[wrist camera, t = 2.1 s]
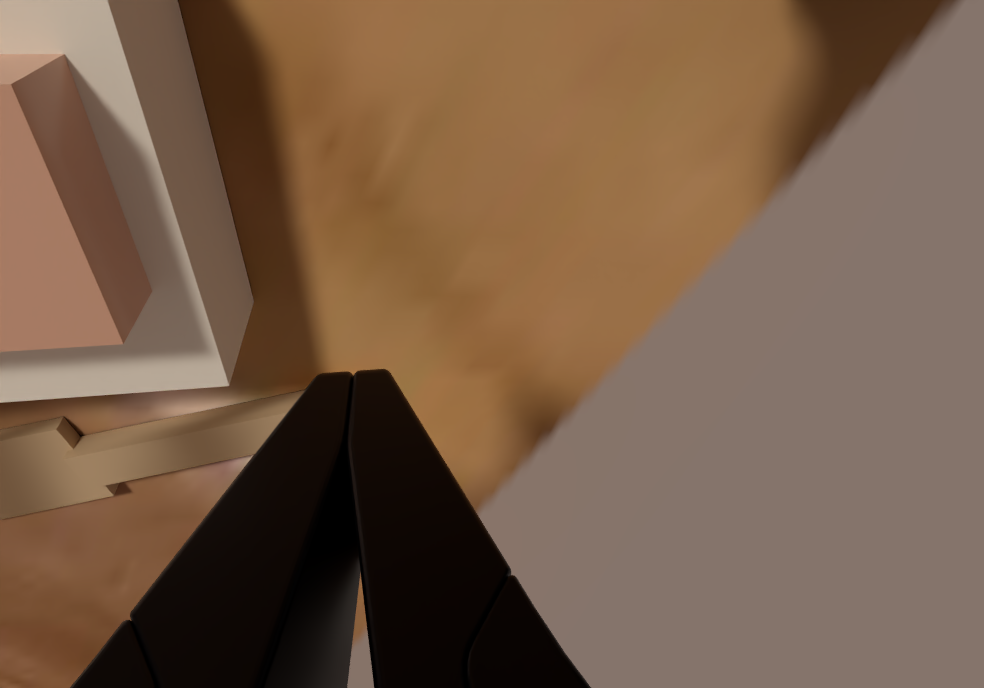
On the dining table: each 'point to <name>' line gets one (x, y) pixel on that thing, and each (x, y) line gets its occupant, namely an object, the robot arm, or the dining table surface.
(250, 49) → the dining table surface
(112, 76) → the white flat box
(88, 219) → the tile
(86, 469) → the wooden spatula
